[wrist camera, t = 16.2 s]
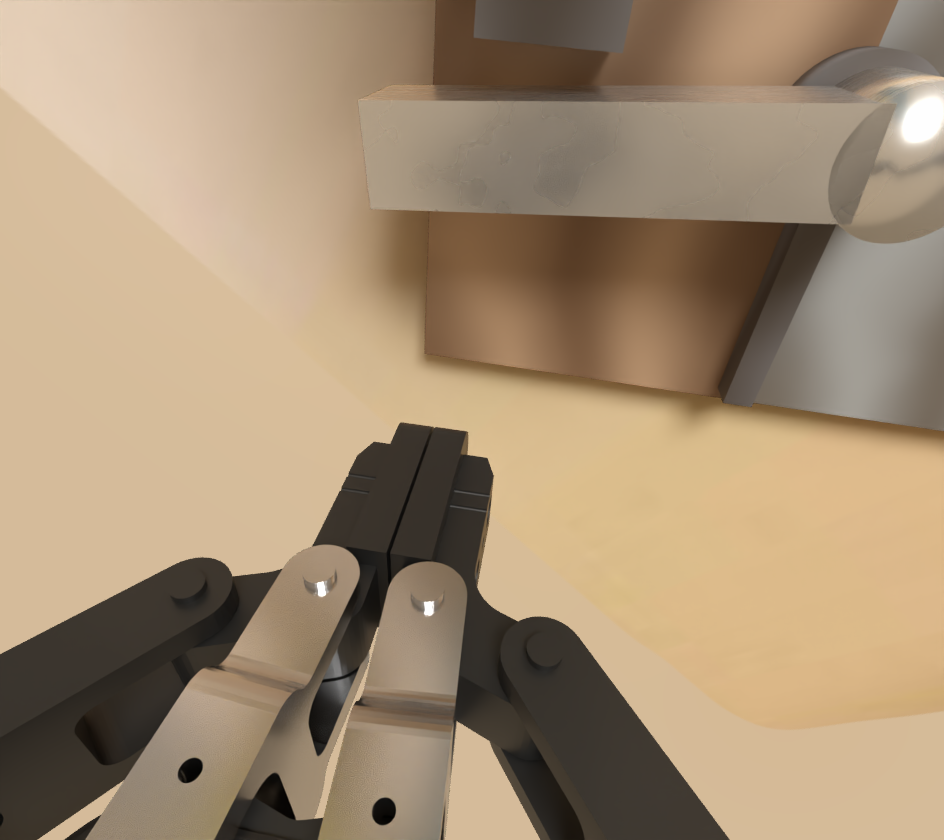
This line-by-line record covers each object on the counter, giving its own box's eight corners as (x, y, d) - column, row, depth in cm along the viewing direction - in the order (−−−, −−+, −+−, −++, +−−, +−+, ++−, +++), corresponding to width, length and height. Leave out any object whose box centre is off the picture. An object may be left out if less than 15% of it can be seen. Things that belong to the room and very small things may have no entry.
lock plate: (1606, -103, 15) (2092, -150, 10) (1093, 435, 26) (1210, 535, 21) (452, -189, 17) (401, -259, 12) (431, 338, 28) (400, 408, 23)
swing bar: (964, 66, 16) (1043, 80, 14) (903, 209, 19) (959, 246, 16) (389, 67, 19) (354, 79, 16) (400, 195, 21) (372, 225, 18)
